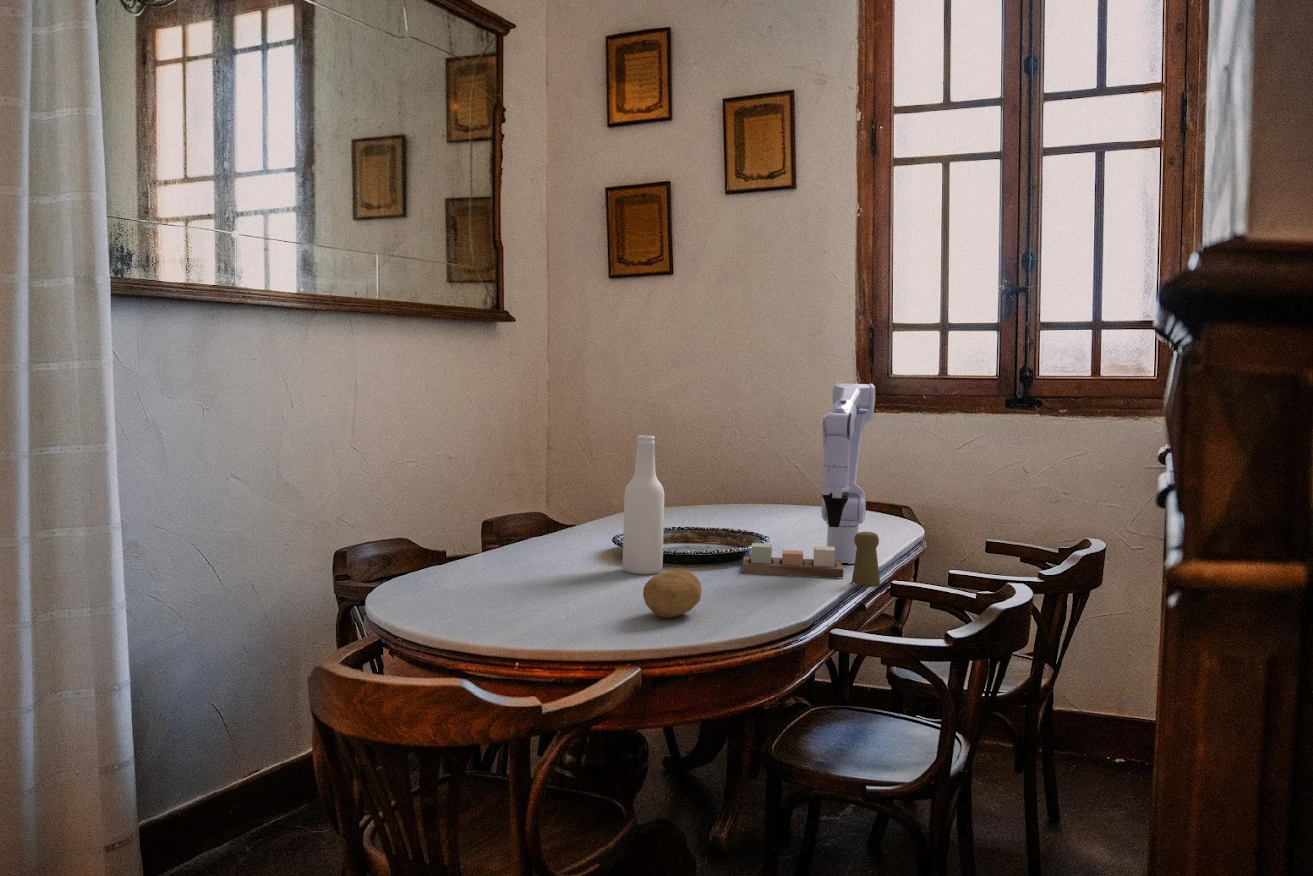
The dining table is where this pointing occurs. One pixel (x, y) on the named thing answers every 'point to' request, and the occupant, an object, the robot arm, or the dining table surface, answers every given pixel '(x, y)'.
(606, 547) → the dining table surface
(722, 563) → the dining table surface
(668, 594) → the potato
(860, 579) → the cork
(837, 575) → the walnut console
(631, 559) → the alcohol
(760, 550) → the sage button
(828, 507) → the robot arm
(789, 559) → the terracotta button
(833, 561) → the cream button
